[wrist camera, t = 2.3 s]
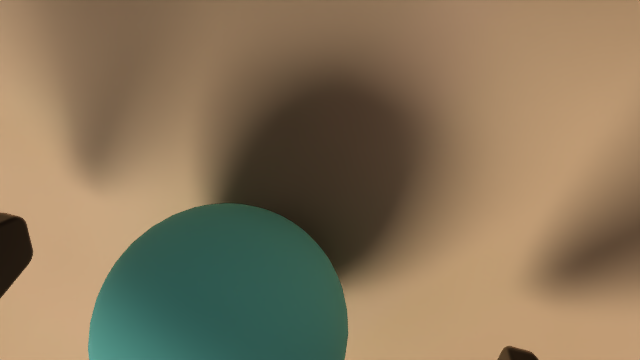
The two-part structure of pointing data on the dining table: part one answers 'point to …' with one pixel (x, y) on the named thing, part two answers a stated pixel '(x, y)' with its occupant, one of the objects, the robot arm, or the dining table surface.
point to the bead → (221, 292)
